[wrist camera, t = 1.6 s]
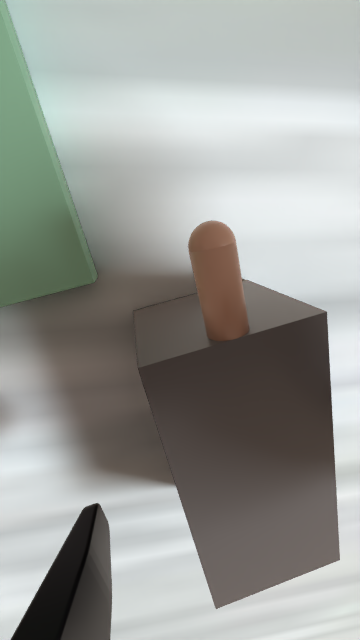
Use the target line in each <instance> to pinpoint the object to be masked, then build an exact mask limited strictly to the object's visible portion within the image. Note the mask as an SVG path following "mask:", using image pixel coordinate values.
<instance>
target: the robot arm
mask: <svg viewBox="0 0 360 640" xmlns="http://www.w3.org/2000/svg"><path fill="white" fill-rule="evenodd" d="M111 612H112V579H111V555H110V531H109V524H108V521H107V519H106V517H105V514H104V512H103V510H102V508H101V506H100V504H98V503H95V504H92V505H89V506H87V507H85V508H84V509H83V510H82V512H81V514H80V515H79V517H78V519H77V521H76V523H75V524H74V526H73V528H72V530H71V532H70V533H69V535H68V537H67V539H66V541H65V542H64V544H63V546H62V548H61V550H60V551H59V553H58V555H57V557H56V559H55V560H54V562H53V564H52V566H51V568H50V570H49V571H48V573H47V575H46V577H45V579H44V580H43V582H42V584H41V586H40V588H39V589H38V591H37V593H36V595H35V597H34V598H33V600H32V602H31V604H30V606H29V607H28V609H27V611H26V613H25V615H24V616H23V618H22V620H21V622H20V624H19V625H18V627H17V629H16V631H15V633H14V634H13V636H12V638H11V640H110V632H111Z"/></svg>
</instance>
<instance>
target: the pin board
mask: <svg viewBox="0 0 360 640" xmlns="http://www.w3.org/2000/svg"><path fill="white" fill-rule="evenodd" d="M97 277H98V275H97V272H96V269H95V266H94V263H93V260H92V257H91V254H90V251H89V248H88V246H87V243H86V240H85V237H84V234H83V231H82V228H81V225H80V222H79V219H78V216H77V213H76V210H75V207H74V204H73V201H72V198H71V195H70V192H69V189H68V186H67V183H66V180H65V177H64V174H63V171H62V168H61V165H60V162H59V159H58V156H57V153H56V150H55V148H54V145H53V142H52V139H51V136H50V133H49V130H48V127H47V124H46V121H45V118H44V115H43V112H42V109H41V106H40V103H39V100H38V97H37V94H36V91H35V88H34V85H33V82H32V79H31V76H30V73H29V70H28V67H27V64H26V61H25V58H24V55H23V53H22V50H21V47H20V44H19V41H18V38H17V35H16V32H15V29H14V26H13V23H12V20H11V17H10V14H9V11H8V8H7V5H6V2H5V0H0V307H3V306H7V305H11V304H15V303H19V302H22V301H26V300H30V299H34V298H38V297H42V296H45V295H49V294H53V293H57V292H61V291H64V290H68V289H72V288H76V287H80V286H83V285H87V284H91V283H94V282H95V281H96V279H97Z"/></svg>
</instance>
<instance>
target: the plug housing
mask: <svg viewBox="0 0 360 640" xmlns="http://www.w3.org/2000/svg"><path fill="white" fill-rule="evenodd" d="M188 249H189V255H190V259H191V264H192V268H193V273H194V278H195V282H196V287H197V292H198V293H196V294H192V295H189V296H185V297H182V298H178V299H174V300H171V301H167V302H163V303H160V304H156V305H153V306H149V307H145V308H142V309H138V310H135V311H133V315H134V327H135V340H136V352H137V364H138V370H139V373H140V376H141V379H142V382H143V386H144V389H145V392H146V395H147V398H148V401H149V404H150V407H151V410H152V413H153V416H154V419H155V423H156V426H157V429H158V432H159V435H160V438H161V441H162V444H163V447H164V450H165V453H166V457H167V460H168V463H169V466H170V469H171V472H172V475H173V478H174V481H175V484H176V487H177V490H178V494H179V497H180V500H181V503H182V506H183V509H184V512H185V515H186V518H187V521H188V524H189V528H190V531H191V534H192V537H193V540H194V543H195V546H196V549H197V552H198V555H199V558H200V561H201V565H202V568H203V571H204V574H205V577H206V580H207V583H208V586H209V589H210V592H211V595H212V599H213V602H214V605H215V608H216V609H217V608H220V607H222V606H225V605H227V604H230V603H232V602H235V601H237V600H240V599H243V598H245V597H248V596H250V595H253V594H255V593H258V592H260V591H263V590H265V589H268V588H270V587H273V586H275V585H278V584H280V583H283V582H285V581H288V580H290V579H293V578H295V577H298V576H301V575H303V574H306V573H308V572H311V571H313V570H316V569H318V568H321V567H323V566H326V565H328V564H331V563H333V562H336V561H338V560H340V553H339V534H338V515H337V496H336V477H335V458H334V439H333V420H332V401H331V382H330V363H329V344H328V325H327V312H326V311H324V310H321V309H319V308H316V307H314V306H311V305H309V304H306V303H304V302H301V301H299V300H296V299H294V298H291V297H289V296H286V295H284V294H281V293H279V292H276V291H274V290H271V289H269V288H266V287H264V286H261V285H259V284H256V283H254V282H251V281H249V280H243V281H242V278H241V271H240V265H239V258H238V252H237V246H236V240H235V236H234V234H233V232H232V231H231V229H230V228H229V227H228V226H227V225H225V224H223V223H222V222H218V221H207V222H204V223H202V224H200V225H199V226H197V227H196V228H195V229H194V231H193V232H192V234H191V236H190V238H189V243H188Z"/></svg>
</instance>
